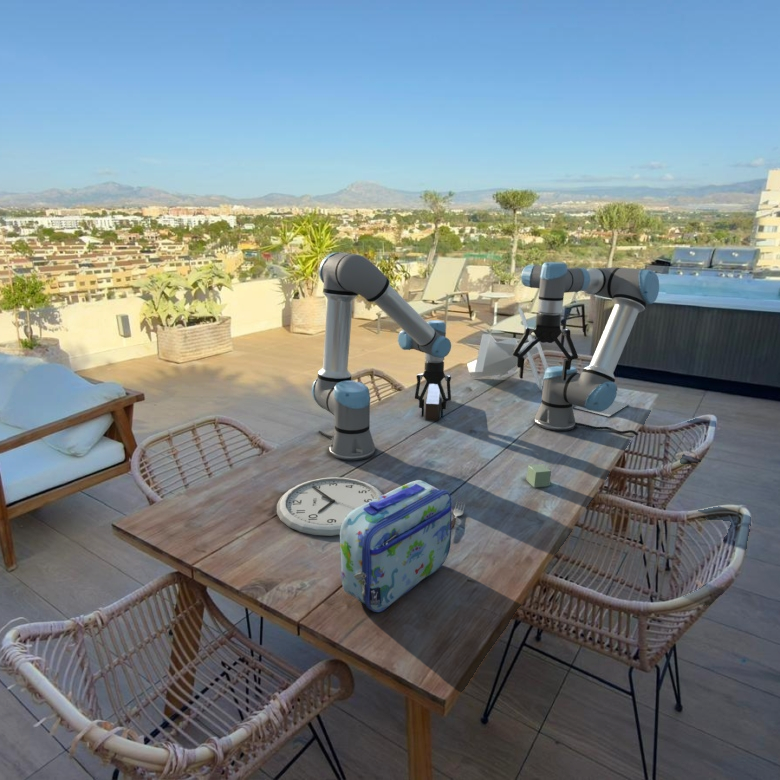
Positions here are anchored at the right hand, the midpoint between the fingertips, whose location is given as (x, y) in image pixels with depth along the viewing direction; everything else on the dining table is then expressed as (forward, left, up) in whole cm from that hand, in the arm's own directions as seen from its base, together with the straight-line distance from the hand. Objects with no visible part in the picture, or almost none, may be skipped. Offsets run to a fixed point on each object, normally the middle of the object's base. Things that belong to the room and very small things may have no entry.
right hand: (542, 378), depth 170 cm
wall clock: (+60, +44, -27) cm, 79 cm away
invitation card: (-36, -55, -27) cm, 71 cm away
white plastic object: (+2, -82, -27) cm, 86 cm away
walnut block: (+36, -41, -27) cm, 61 cm away
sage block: (+2, +22, -27) cm, 35 cm away
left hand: (+36, -30, -26) cm, 54 cm away
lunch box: (+39, +74, -27) cm, 88 cm away
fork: (+27, +48, -27) cm, 61 cm away
